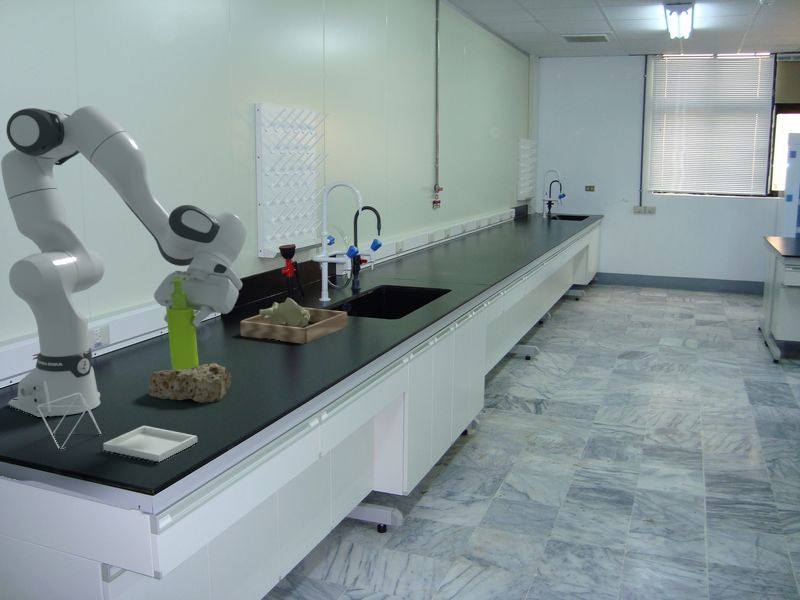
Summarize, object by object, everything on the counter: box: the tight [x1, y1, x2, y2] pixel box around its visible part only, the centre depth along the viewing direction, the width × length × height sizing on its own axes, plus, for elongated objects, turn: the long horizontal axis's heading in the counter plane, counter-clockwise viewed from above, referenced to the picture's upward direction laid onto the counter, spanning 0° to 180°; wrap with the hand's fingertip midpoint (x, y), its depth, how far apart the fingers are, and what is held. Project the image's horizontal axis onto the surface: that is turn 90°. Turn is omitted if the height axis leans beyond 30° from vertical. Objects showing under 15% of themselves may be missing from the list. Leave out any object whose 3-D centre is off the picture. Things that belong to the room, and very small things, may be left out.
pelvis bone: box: [259, 297, 310, 328], centre depth 273 cm, size 20×14×15 cm
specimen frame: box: [240, 307, 348, 345], centre depth 272 cm, size 26×30×5 cm
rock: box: [147, 362, 233, 404], centre depth 200 cm, size 21×14×10 cm
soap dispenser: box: [166, 277, 199, 370], centre depth 172 cm, size 6×7×20 cm
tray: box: [103, 425, 198, 462], centre depth 164 cm, size 15×12×2 cm
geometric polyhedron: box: [37, 393, 102, 450], centre depth 168 cm, size 12×11×9 cm
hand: (180, 323), depth 171 cm, fingers closed on soap dispenser, 6 cm apart
